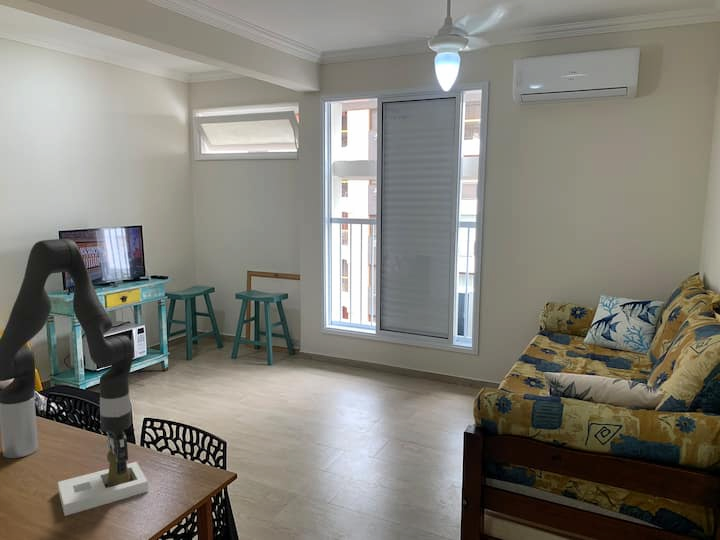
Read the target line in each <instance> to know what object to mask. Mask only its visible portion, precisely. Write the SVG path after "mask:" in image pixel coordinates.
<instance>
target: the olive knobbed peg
mask: <svg viewBox="0 0 720 540" xmlns="http://www.w3.org/2000/svg"><path fill="white" fill-rule="evenodd" d="M116 449H117V448H116ZM120 456H123V453H120ZM106 459H107V462H108V463H109V465H108V469H109V474H108V484H106V485H107V487H106V488H109V487H112V486H116V485H120V484H123V483H127V482H130V481H131V477H129V472H128V467H127V464H128V463H127V461H126V473H124V474H120V475H118V474H117V465H116V457H115V454H113V451H112V449H111V450H110V449H109V451H108V452H107V455H106Z"/></svg>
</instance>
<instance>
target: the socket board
mask: <svg viewBox="0 0 720 540" xmlns="http://www.w3.org/2000/svg"><path fill="white" fill-rule="evenodd" d="M127 467H128V472H129V477H130V478H131V479H132V480H130V482H127V483H123V484H120V485H116V486H112V487H109V488H107V487H106V486H105V485H108V474H109V468H107V469H102V470H99V471H95V472H91V473H87V474H83V475H79V476H75V477H71V478H67V479H64V480H59V481H57V485H58V486H57V487H58V495H59V499H60V503H61V507H62V510H63V516H70V515H72V514H76V513H80V512H84V511H87V510H90V509H93V508H97V507H101V506H105V505H108V504H110V503H114V502H117V501H121V500H124V499H125V500H126V499H128V498H132V497H134V495H135V496H138V495H141V493H142V494H146V493H149V484H148V483H149V482H148V480H147V478H146V475H145V474H144V472H143V470H142V469H141V467H140V466H139V463H138V462H137V461H134V462H130V463H127ZM137 494H138V495H137ZM131 496H132V497H131Z"/></svg>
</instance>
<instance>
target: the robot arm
mask: <svg viewBox="0 0 720 540" xmlns="http://www.w3.org/2000/svg"><path fill="white" fill-rule="evenodd" d="M66 272H67V273H68V275H69V277H70V278H71V281H73V287H74V290H73V298H72V299H73V300H72V308H73V309H72V310H73V313H74V316H75V317H76V319H77V322H79V325H80V326H81V329H82V330H83V332H84V335H85V338H86V343H87V347H88V353H89V356H90V359H91V361H92V362H93V363H94V364H95V365H96V366H98V367H100V368H107V367H110V366H111V367H110V369H109V370H107V371H106V372H104V373H103V374H102V375H101V376H100V377H99V415H100V417H99V418H100V429H101V430H102V431H103V432H105V433H107V441H106V442H107V443H108V448H109V451H110V450H111V449H112V451H113V454H115V457H116V465H117V474H118V475H120V474H124V473H126V462H127V461H129V452H128V438H127V435H126V433H125V430H126V429H128V428H130V426H131V425H132V407H131V398H130V397H131V396H130V387H129V383H130V382H129V376H130V374H131V368H132V365H133V360H134V355H135V349H134V344H133V342H132V340H131V339H130V338H129V337H128V336H127V335H118V336H113V337H110V338H105V335H104V334H106V333H108V332H109V331H110V330H111V329H112V327H113V322H112V319H111V318H110V315H109V313H108V312H107V310H106V309H105V307H104V305H103V304H102V302H101V300H100V299H99V296H98V294H97V292H96V288H95V287H94V285H93V281H92V278H91V276H90V272H89V270H88V268H87V265H86V262H85V260H84V257H83V253H82V252H81V250H80V248H79V246H78V244H77V243H76V242H75V241H74V240H73V239H69V238H58V239H57V238H55V239H54V238H53V239H43V240H38V241H37V242H35V243H34V244H33V246H32V248H31V250H30V253H29V255H28V259H27V264H26V268H25V273H24V277H23V280H22V283H21V285H20V289H19V292H18V295H17V297H16V300H15V301H14V304H13V305H12V306H13V307H12V309H11V312H10V314H9V317H8V321H7V322H6V325H5V328H4V330H3V332H2V334H1V336H0V382H5V381H6V382H7V381H9V380H12V381H11V382H10V383H9V384H8V385H6V386H5V387H4V388H3V389H1V390H0V432H1V435H0V436H1V444H2V445H1V447H2V456H3V457H4V458H7V459H17V458H18V459H19V458H22V457H27V456H30V455H31V454H34V453H35V452H36V451H37V450H38V448H39V446H38V445H39V442H38V430H37V413H36V401H35V390H36V360H35V355H34V352H33V350H32V349H31V348H30V347H29V346H27V345H26V344H28V342H29V341H31V340H32V339H33V338H34V337H35V336H37V335H38V334H39V333H40V332H41V331H42V330H43V328H44V327H45V325H46V323H47V321H48V319H49V316H50V313H51V311H52V301H51V299H50V297H49V294H48V292H47V291H46V288H45V286H46V282H47V280H48V278H49V277H50V275H53V274H57V273H66ZM116 448H117V449H116ZM120 453H123V456H120Z"/></svg>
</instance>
